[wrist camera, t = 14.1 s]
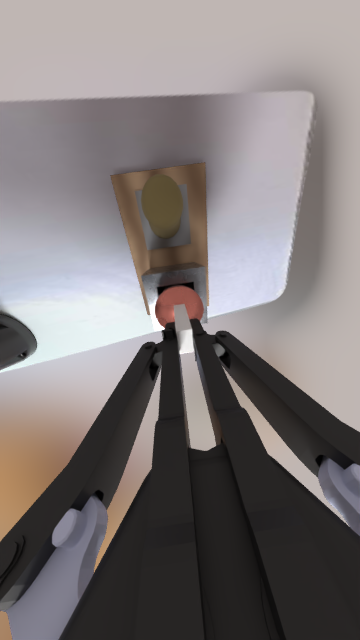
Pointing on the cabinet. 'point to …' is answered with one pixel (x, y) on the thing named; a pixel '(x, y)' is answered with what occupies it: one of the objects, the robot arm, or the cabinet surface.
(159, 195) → the olive knobbed peg
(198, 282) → the grey push button box
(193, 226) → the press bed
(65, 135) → the cabinet surface
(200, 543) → the robot arm
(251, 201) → the cabinet surface
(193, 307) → the press plunger
